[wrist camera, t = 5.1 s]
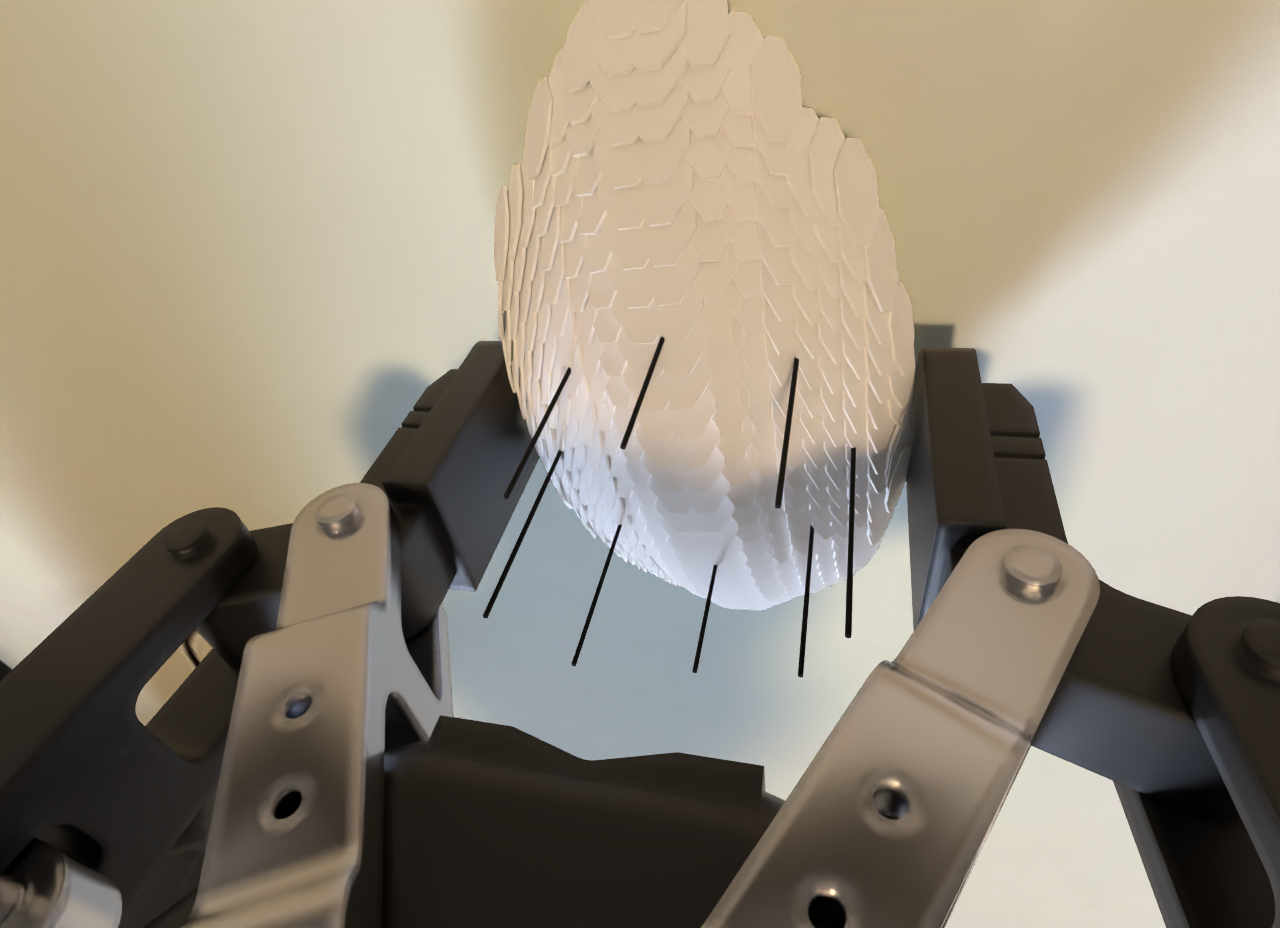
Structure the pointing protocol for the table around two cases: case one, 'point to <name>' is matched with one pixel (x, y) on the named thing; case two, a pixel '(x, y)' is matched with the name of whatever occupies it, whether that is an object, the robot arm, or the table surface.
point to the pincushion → (704, 310)
